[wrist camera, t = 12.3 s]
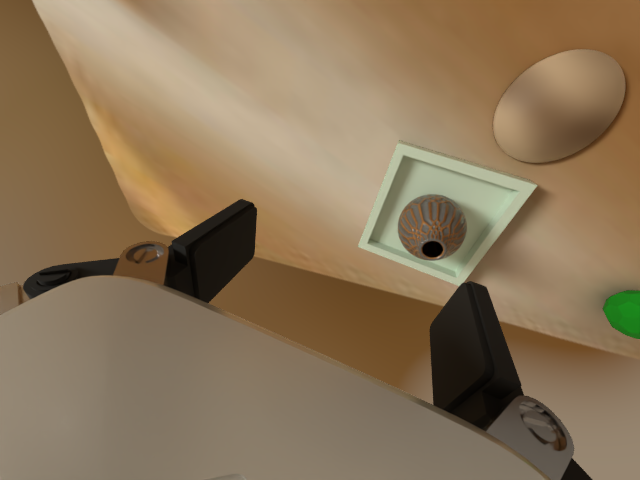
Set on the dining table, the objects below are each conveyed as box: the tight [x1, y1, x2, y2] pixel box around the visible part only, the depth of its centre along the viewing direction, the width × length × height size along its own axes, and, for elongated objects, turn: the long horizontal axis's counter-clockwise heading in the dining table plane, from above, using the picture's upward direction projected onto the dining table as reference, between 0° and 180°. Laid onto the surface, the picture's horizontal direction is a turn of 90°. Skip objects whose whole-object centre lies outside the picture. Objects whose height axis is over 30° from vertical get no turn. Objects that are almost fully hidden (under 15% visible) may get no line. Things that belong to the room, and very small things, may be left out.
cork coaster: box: [493, 49, 626, 163], centre depth 22 cm, size 9×9×1 cm
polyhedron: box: [603, 290, 640, 339], centre depth 26 cm, size 5×5×5 cm
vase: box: [398, 194, 467, 261], centre depth 26 cm, size 7×7×9 cm
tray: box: [358, 140, 537, 286], centre depth 30 cm, size 14×14×2 cm
